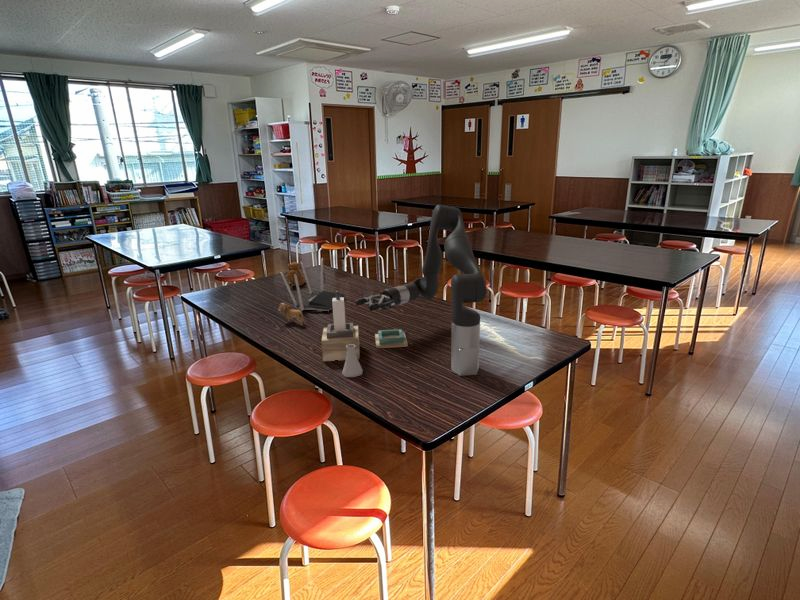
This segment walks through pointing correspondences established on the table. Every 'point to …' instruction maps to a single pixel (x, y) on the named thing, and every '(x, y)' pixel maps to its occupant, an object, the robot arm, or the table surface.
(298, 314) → the lion figurine
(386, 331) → the lower socket
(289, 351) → the table surface
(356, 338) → the upper dock
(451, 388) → the table surface
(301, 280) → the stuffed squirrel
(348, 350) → the flask
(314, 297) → the wireless router
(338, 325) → the plug
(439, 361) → the table surface
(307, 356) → the table surface
